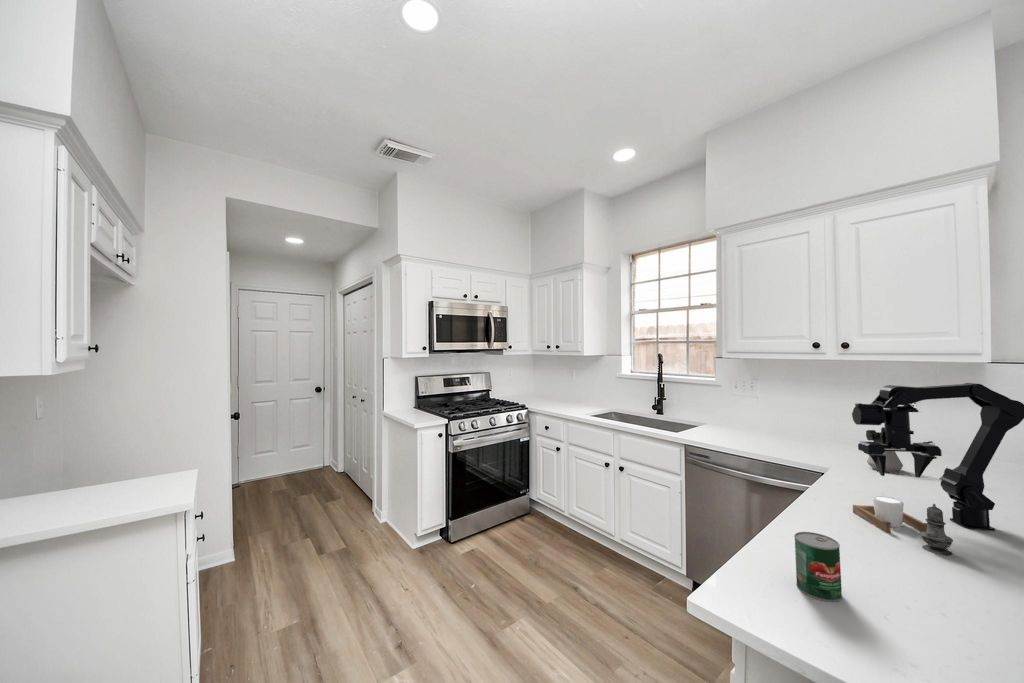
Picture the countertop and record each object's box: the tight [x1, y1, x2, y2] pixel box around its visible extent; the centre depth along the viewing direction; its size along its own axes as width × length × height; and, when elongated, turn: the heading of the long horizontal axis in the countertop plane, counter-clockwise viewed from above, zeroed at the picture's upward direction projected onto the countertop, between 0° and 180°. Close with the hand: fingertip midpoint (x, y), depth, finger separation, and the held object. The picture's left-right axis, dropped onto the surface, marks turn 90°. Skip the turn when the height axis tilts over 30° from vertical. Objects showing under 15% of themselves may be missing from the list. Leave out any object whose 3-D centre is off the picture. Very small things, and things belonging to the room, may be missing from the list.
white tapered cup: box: [871, 495, 905, 528], centre depth 118 cm, size 7×7×7 cm
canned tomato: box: [793, 531, 843, 603], centre depth 85 cm, size 8×8×11 cm
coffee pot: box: [866, 440, 936, 473], centre depth 166 cm, size 21×12×15 cm, turn 32°
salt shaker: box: [919, 503, 954, 557], centre depth 102 cm, size 6×6×12 cm
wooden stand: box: [852, 504, 927, 534], centre depth 117 cm, size 11×15×3 cm
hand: (899, 476), depth 121 cm, fingers open, 9 cm apart
